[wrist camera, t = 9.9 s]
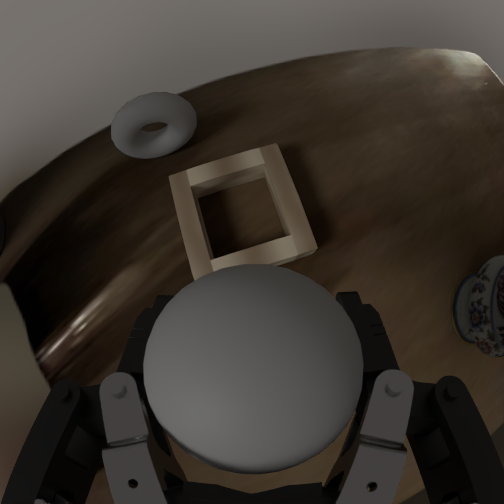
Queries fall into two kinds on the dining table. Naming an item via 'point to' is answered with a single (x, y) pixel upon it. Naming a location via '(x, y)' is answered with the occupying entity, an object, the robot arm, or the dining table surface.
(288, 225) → the pocket
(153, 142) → the donut
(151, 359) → the lightbulb
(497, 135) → the dining table surface
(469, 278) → the apothecary jar
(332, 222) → the dining table surface
